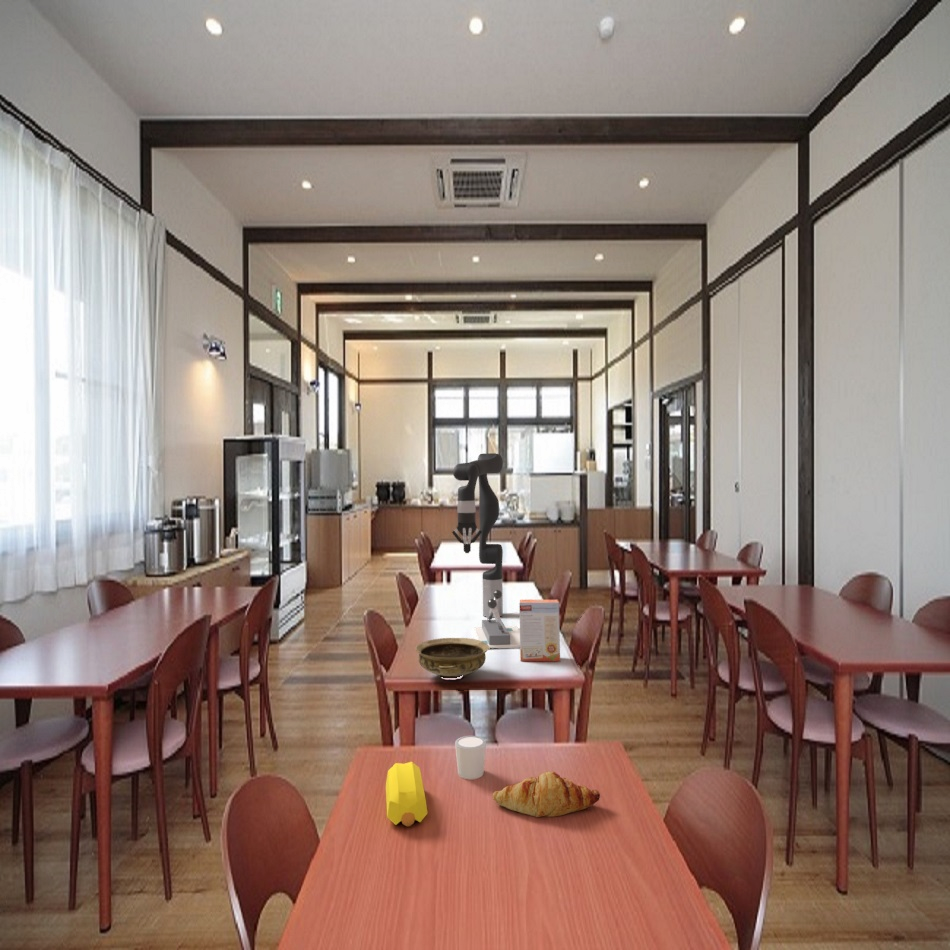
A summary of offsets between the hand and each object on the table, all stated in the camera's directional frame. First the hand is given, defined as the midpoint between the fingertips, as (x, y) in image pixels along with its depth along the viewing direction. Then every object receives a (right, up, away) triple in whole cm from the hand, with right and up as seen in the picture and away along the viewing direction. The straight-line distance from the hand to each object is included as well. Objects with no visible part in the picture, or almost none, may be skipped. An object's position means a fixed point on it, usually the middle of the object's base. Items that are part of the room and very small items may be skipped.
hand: (467, 552), depth 262 cm
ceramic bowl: (-4, -34, -58) cm, 67 cm away
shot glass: (+2, -34, -123) cm, 128 cm away
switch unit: (+14, -33, -11) cm, 37 cm away
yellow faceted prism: (-11, -34, -137) cm, 141 cm away
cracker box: (+26, -33, -40) cm, 58 cm away
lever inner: (+9, -27, -2) cm, 29 cm away
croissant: (+17, -34, -137) cm, 142 cm away
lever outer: (+14, -27, -20) cm, 36 cm away
